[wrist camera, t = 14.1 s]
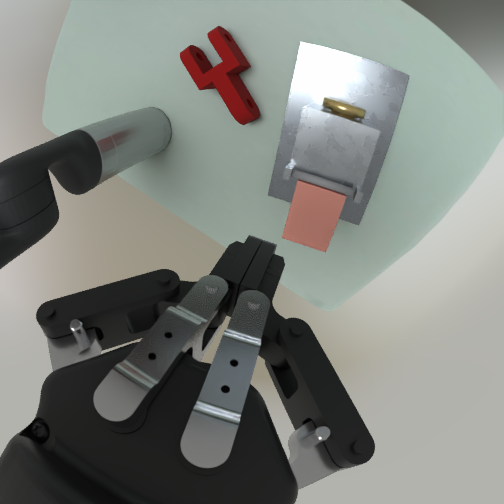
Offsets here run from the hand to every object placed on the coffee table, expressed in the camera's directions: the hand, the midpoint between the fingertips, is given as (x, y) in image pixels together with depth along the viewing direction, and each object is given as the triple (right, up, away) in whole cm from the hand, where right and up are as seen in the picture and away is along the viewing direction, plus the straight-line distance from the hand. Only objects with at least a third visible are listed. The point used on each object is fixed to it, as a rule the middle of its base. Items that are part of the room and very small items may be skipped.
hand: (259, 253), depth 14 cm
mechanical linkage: (-3, +27, +22) cm, 35 cm away
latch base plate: (+12, +17, +22) cm, 30 cm away
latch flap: (+7, +5, +19) cm, 21 cm away
